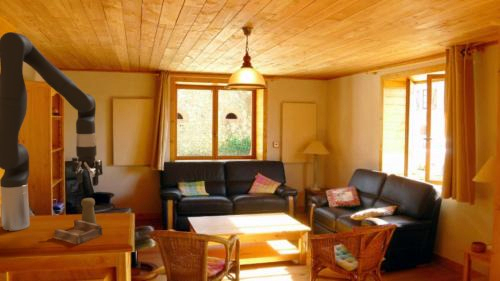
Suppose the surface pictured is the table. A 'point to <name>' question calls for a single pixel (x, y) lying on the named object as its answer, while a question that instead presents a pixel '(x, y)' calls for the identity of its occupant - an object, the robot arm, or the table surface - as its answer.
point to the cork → (88, 210)
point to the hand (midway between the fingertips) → (87, 184)
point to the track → (79, 232)
